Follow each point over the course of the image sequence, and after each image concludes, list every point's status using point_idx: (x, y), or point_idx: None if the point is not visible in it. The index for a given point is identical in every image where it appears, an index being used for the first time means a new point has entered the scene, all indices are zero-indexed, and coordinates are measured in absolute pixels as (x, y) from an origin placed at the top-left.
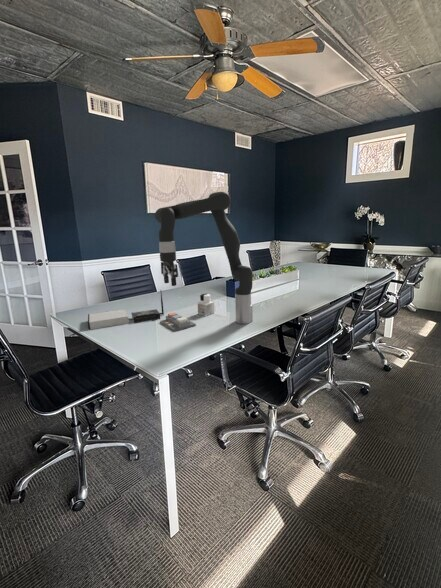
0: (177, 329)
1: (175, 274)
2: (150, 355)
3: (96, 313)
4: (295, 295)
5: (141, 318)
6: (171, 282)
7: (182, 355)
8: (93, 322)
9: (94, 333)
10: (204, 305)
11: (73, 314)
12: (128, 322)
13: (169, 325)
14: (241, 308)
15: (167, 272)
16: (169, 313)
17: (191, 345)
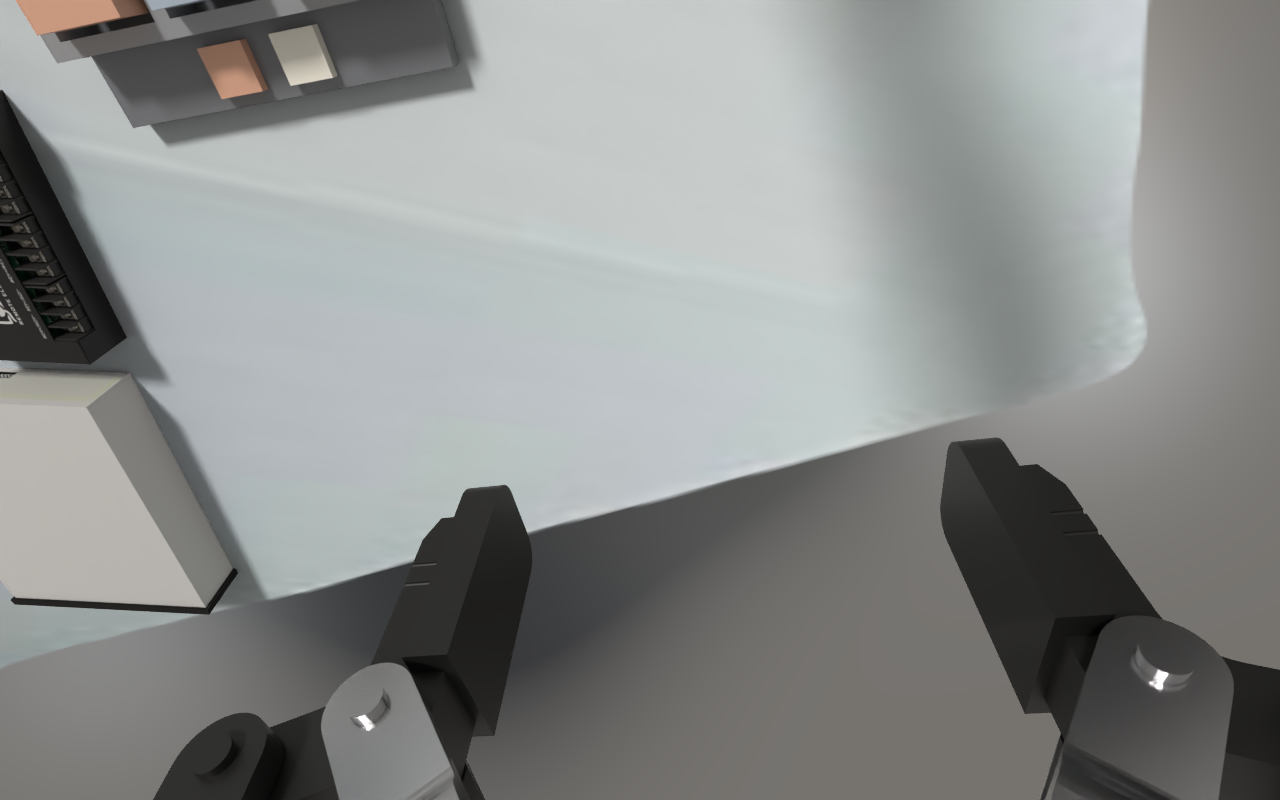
0: (441, 13)
1: (1214, 760)
2: (857, 356)
3: None
4: None
5: (70, 290)
6: (985, 596)
7: (1031, 160)
8: (200, 586)
9: (319, 557)
10: None
11: None
12: (126, 377)
13: (327, 78)
14: None
15: (415, 792)
16: (27, 11)
17: (906, 8)
